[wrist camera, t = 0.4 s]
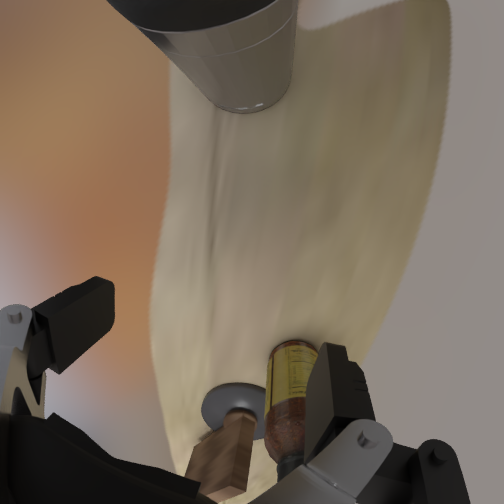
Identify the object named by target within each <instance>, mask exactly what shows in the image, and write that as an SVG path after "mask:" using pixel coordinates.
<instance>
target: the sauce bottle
mask: <svg viewBox="0 0 504 504" xmlns="http://www.w3.org/2000/svg"><path fill="white" fill-rule="evenodd" d="M317 356H318V353H317V352H316V350H315V349H314V348H313V347H312V346H311V345H309V344H307V343H304V342H299V341H289V342H286V343H283V344H282V345H280V346H278V347H277V348H276V349H275V350H273V352H272V353H271V355H270V358H269V363H268V366H267V380H266V398H265V414H264V425H265V434H264V442H265V447H266V449H267V451H268V453H269V455H270V457H271V458H272V459H273V460H274V461H275V462H276V463H277V464H278V465H277V473H278V479H277V483H278V482H279V481H280V480H282V479H283V478H284V477H286V476H287V475H288V474H290V473H291V472H292V471H293V470H295V469H296V468H297V467H299V466H300V465H302V464H305V465H307V463H304V448H305V417H306V387H307V383H308V379H309V376H310V374H311V371H312V369H313V366H314V364H315V361H316V359H317Z"/></svg>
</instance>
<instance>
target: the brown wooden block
mask: <svg viewBox="0 0 504 504" xmlns="http://www.w3.org/2000/svg"><path fill="white" fill-rule="evenodd" d="M257 422H258V421H257V418H256V416H255V415H253V414H252V413H250V412H248V411H245V410H232V411H230V412H228V413H227V414H226V415H225V417H224V421H223V425H224V426H222V427H221V428H220V429H218V430H217V431H216V432H214V433H213V434H211V435H210V436H209V437H207V438H206V439H204V440H203V441H202V442H200V443H199V444H197V445H196V446H194V449H193V452H192V455H191V458H190V461H189V464H188V467H187V470H186V473H185V476H184V477H185V478H189V479H192V480H195V481H198V482H201V486H200V491H199V492H200V493H202V494H204V495H205V496H207V497H209V498H210V499H212V500H213V501H215V502H216V503H218V502H221V501H224V500H227V499H229V498H232V497H235V496H237V495H240V494H242V493H244V492H246V489H247V482H248V475H249V467H250V460H251V453H252V445H253V437H254V432H255V431H256V429H257Z"/></svg>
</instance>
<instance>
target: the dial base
mask: <svg viewBox="0 0 504 504" xmlns="http://www.w3.org/2000/svg"><path fill="white" fill-rule="evenodd" d="M265 398H266V389H264V388H261V387H259V386H256V385H252V384H247V383H228V384H223V385H220V386H217V387H215V388H213V389H212V390H211V391H210V392H209V393H208V394H207V395H206V396H205V398H204V401H203V404H202V408H201V413H202V417H203V419H204V421H205V422H206V424H207V425H208V426H209V427H210V428H211V429H213V430H214V431H217V430H218V429H220V428H221V427H222V426H224V425H223V421H224V417H225V415H226V414H227V413H228V412H230V411H232V410H245V411H248V412H250V413H252V414H253V415H255V416H256V418H257V421H258V422H257V429H256V431H255V432H254V437H253V440H258V439H262V438H264V434H265V425H264V414H265Z"/></svg>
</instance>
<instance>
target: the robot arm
mask: <svg viewBox="0 0 504 504" xmlns="http://www.w3.org/2000/svg"><path fill="white" fill-rule="evenodd" d="M107 1H108V2H109V3H110V4H111V5H112V6H113V7H114V8H115V9H116V10H117V11H118V12H119V13H120V14H122V15H123V16H124V17H125V18H126V19H127V20H129V21H130V22H131V23H132V24H133V25H135V26H136V27H137V28H138V29H139V30H140V31H141V32H142V33H143V34H144V35H145V36H147V37H148V38H149V39H150V40H151V41H152V42H153V43H154V44H155V45H156V46H157V47H158V48H159V49H160V50H161V51H162V52H164V54H165V55H166V56H168V57H169V58H170V59H171V60H172V61H173V62H174V63H175V64H176V65H177V66H178V68H179V69H180V70H181V71H182V72H183V73H184V74H185V75H186V76H187V77H188V78H189V79H190V80H191V81H192V82H193V83H194V84H195V85H196V86H197V87H198V88H199V89H200V90H201V91H202V93H203V94H204V95H205V96H206V97H207V98H208V99H209V100H210V101H211V102H213V103H214V104H215V105H216V106H218V107H220V108H222V109H223V110H226V111H230V112H233V113H253V112H257V111H260V110H263V109H265V108H267V107H270V106H271V105H273V104H274V103H275V102H277V101H278V100H279V99H280V98H281V97H282V96H283V95H284V93H285V92H286V90H287V88H288V86H289V83H290V79H291V73H292V64H293V54H294V44H295V33H296V21H297V10H298V0H107ZM114 295H115V288H114V284H113V282H111V281H109V280H106V279H103V278H101V277H98V276H95V277H92V278H91V279H89V280H87V281H85V282H83V283H81V284H79V285H75V286H71V287H69V288H67V289H65V290H64V291H62V293H61V292H60V293H58V294H56V295H55V297H54V296H53V297H51V298H49V299H47V300H46V301H44V302H42V303H40V304H39V305H37V306H35V307H33V308H32V309H30V308H29V307H27V306H24V305H19V304H15V305H9V306H6V307H4V308H2V309H1V310H0V504H218V503H216V502H215V501H213V500H212V499H210V498H209V497H207V496H205V495H204V494H202V493H200V492H199V491H200V486H201V482H198V481H195V480H192V479H189V478H185V477H182V476H180V475H177V474H174V473H171V472H168V471H166V470H163V469H160V468H156V467H151V466H146V465H141V464H137V463H132V462H128V461H124V460H120V459H116V458H114V457H112V456H111V455H109V454H108V453H107V452H106V451H105V450H103V449H102V448H101V447H100V446H99V445H98V444H97V443H95V442H94V441H93V440H92V439H91V438H90V437H89V436H88V435H87V434H85V432H83V431H82V430H81V429H79V428H77V427H76V426H74V425H72V424H71V423H69V422H68V421H66V420H64V419H63V418H61V417H60V416H58V415H57V414H55V413H52V414H51V415H50V416H49V417H48V418H47V419H45V417H44V404H45V402H44V401H45V388H46V373H45V370H46V369H47V368H50V369H51V370H53V371H54V372H56V373H57V374H61V373H62V372H63V371H64V370H65V369H66V368H67V367H69V366H70V365H71V364H72V363H73V362H74V361H75V360H77V359H78V358H79V357H80V356H81V355H82V354H83V353H84V352H86V351H87V350H88V349H89V348H90V347H91V346H92V345H94V344H95V343H96V342H97V341H98V340H100V338H102V337H103V336H104V335H105V334H106V333H108V332H109V331H110V329H111V328H112V326H113V323H114V319H115V299H114V297H115V296H114ZM304 463H307V465H305V464H302V465H300V466H299V467H297V468H296V469H295V470H293V471H292V472H291V473H290V474H288V475H287V476H286V477H284V478H283V479H282V480H280V481H279V482H278V483H276V484H275V485H274V486H272V487H271V488H270V489H268V490H267V491H266V492H264V493H263V494H261V495H260V496H258V497H257V498H255V499H254V500H252V501H251V502H249V503H248V504H355V503H358V504H470V500H469V496H468V492H467V488H466V485H465V481H464V478H463V474H462V471H461V468H460V465H459V462H458V458H457V456H456V453H455V451H454V450H453V449H452V447H451V446H450V445H448V444H447V443H445V442H443V441H441V440H437V439H430V440H427V441H425V442H423V443H422V445H421V446H420V447H419V448H418V449H414V448H410V447H406V446H403V445H399V444H396V443H394V442H393V438H392V435H391V433H390V432H389V431H388V429H387V428H386V427H385V426H383V425H382V424H380V423H378V422H376V420H375V415H374V411H373V407H372V403H371V399H370V395H369V393H368V387H367V384H366V380H365V376H364V372H363V371H362V369H361V368H360V367H359V366H358V364H357V363H356V362H352V361H349V360H348V356H347V352H346V348H345V346H342V345H337V344H332V343H327V342H324V343H323V345H322V346H321V349H320V351H319V354H318V356H317V359H316V361H315V364H314V366H313V369H312V371H311V374H310V376H309V379H308V383H307V387H306V417H305V448H304Z"/></svg>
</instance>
